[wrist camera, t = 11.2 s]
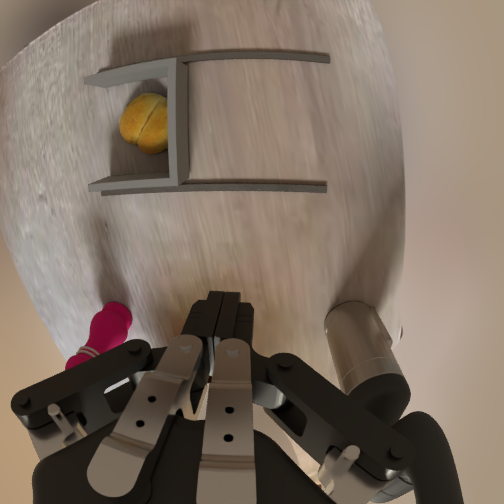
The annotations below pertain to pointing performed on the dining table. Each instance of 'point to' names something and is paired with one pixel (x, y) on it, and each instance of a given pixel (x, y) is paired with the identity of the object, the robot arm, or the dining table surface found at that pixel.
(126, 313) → the pepper mill
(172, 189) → the track
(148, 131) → the bread roll
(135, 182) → the frame
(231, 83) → the dining table surface
